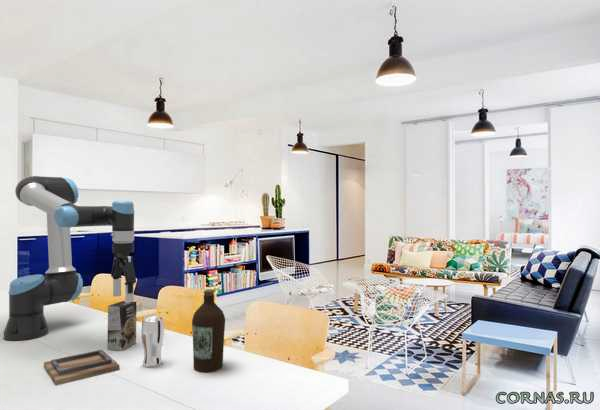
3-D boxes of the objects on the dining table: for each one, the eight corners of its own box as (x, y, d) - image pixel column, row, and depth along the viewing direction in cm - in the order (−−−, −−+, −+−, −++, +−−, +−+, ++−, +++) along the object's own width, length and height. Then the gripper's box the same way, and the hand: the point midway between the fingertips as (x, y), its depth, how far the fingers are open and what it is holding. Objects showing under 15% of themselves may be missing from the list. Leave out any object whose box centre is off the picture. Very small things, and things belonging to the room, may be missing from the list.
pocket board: (43, 366, 136) (43, 358, 136) (102, 354, 148) (102, 346, 148) (55, 385, 123) (55, 376, 123) (119, 369, 135) (119, 361, 135)
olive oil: (202, 359, 144) (203, 286, 144) (230, 363, 141) (230, 289, 141) (185, 370, 134) (185, 293, 134) (214, 375, 131) (215, 295, 131)
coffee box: (122, 351, 151) (122, 306, 151) (106, 349, 153) (106, 305, 153) (137, 343, 160) (137, 301, 160) (121, 341, 162) (122, 300, 161)
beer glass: (167, 361, 142) (168, 317, 142) (154, 369, 135) (154, 322, 135) (150, 359, 144) (151, 315, 144) (136, 366, 137) (137, 320, 137)
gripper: (102, 240, 163) (102, 295, 163) (124, 245, 144) (124, 306, 144) (122, 239, 168) (122, 292, 168) (145, 243, 149) (145, 303, 149)
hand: (123, 299), depth 156 cm, fingers open, 13 cm apart
